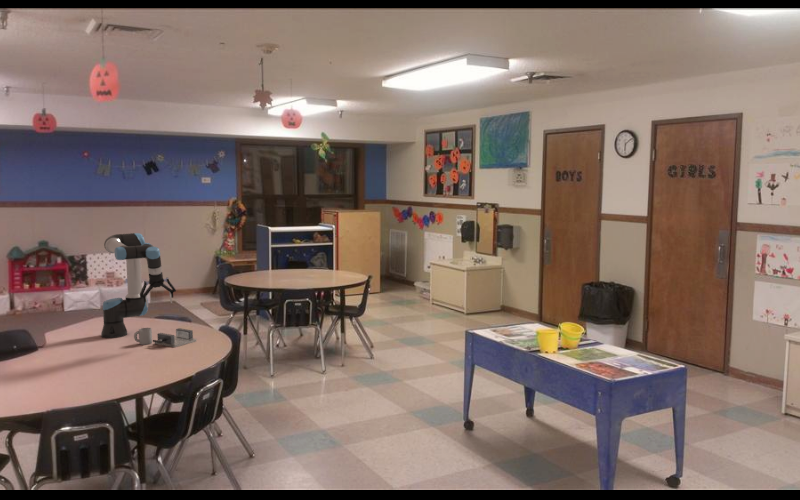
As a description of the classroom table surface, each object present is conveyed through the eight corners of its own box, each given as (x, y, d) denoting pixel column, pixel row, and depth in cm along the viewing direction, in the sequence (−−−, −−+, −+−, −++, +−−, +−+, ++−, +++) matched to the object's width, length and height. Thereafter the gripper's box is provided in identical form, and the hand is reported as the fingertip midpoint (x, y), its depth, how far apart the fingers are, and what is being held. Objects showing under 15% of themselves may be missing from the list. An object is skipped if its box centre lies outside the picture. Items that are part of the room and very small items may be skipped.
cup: (151, 344, 381) (150, 329, 380) (133, 345, 378) (133, 331, 377) (152, 341, 388) (151, 327, 387) (135, 343, 385) (134, 328, 384)
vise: (146, 345, 378) (146, 335, 378) (176, 337, 397) (176, 327, 396) (167, 349, 369) (166, 338, 368) (196, 341, 388) (196, 330, 387)
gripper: (133, 278, 363) (137, 311, 372) (178, 271, 374) (182, 303, 383) (131, 273, 369) (136, 305, 378) (176, 266, 380) (180, 297, 389)
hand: (159, 304), depth 380 cm, fingers open, 13 cm apart
